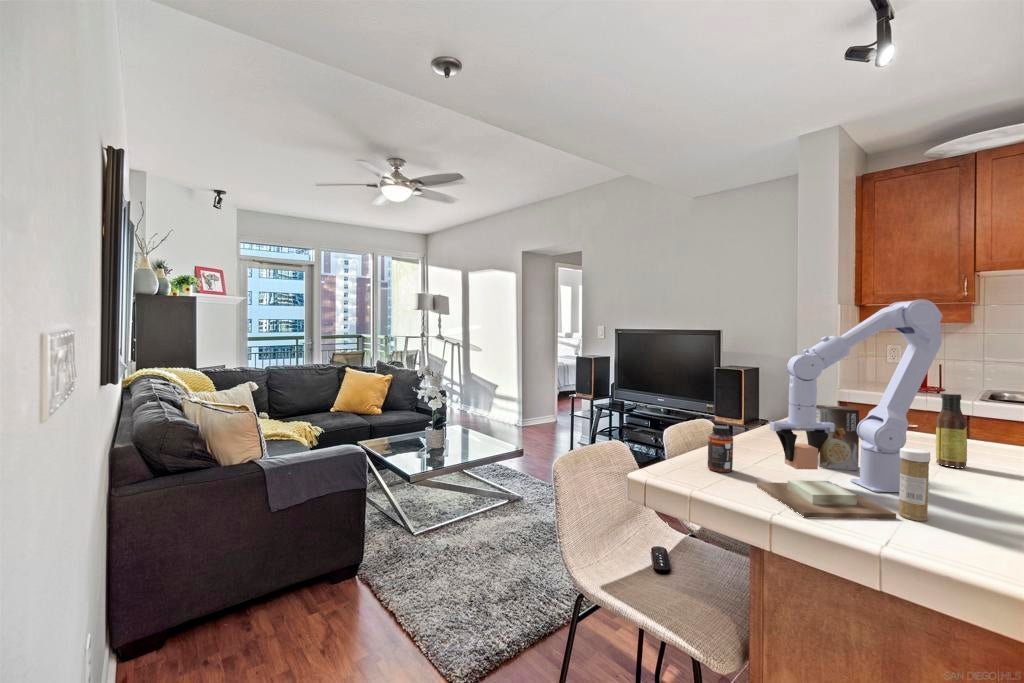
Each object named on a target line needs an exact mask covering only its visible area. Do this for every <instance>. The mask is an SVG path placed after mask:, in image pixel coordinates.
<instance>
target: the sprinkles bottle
mask: <svg viewBox="0 0 1024 683" xmlns="http://www.w3.org/2000/svg"><path fill="white" fill-rule="evenodd" d="M900 457H901V458H900V459H901V472H900V490H899V492H898V493H899V494H898V495H899V496H898V498H899V503H898V505H899V506H898V509H899V510H898V512H897V513H898V515H899V516H901V517H902V518H905V519H908V520H911V521H917V522H925V521H928V519H929V516H928V506H929V493H930V491H929V489H930V488H929V482H930V481H929V476H930V475H929V473H930V472H929V470H930V469H929V468H930V466H929V465H930V462H931V452H930V451H928V450H926V449H922V448H917V447H909V446H908V447H907V446H906V447H903V448H901V449H900Z"/></svg>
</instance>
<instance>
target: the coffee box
mask: <svg viewBox="0 0 1024 683" xmlns="http://www.w3.org/2000/svg"><path fill="white" fill-rule="evenodd" d="M816 422H830V423H833V424H834V432H830V431H825V432H826V433H828V434H829V435H828V438H827V440H826V441H825V442H824V444H823V446H822V447H821V449H820V452H819V455H818V466H819V467H818V468H820V467H825V468H824V469H832V468H835V469H834V470H845V469H847V470H849V471H859V462H860V461H859V460H860V458H859V457H860V456H859V454H860V452H859V450H860V449H859V447H860V444H859V443H860V437H859V436H858V434H857V426H858V424H859V422H860V409H857V408H855V407H851V406H843V405H826V404H825V405H823V404H816ZM847 470H846V471H847Z"/></svg>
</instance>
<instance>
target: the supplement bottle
mask: <svg viewBox="0 0 1024 683" xmlns="http://www.w3.org/2000/svg"><path fill="white" fill-rule="evenodd" d="M711 431H712V433H709V434H708V441H707V469H709V470H710V471H713V472H716V473H730V472H732V470H733V466H734V465H733V464H734V462H733V460H734V436H732V435H731V434H730V427H729V426H727V425H717V424H716V425H712V430H711Z"/></svg>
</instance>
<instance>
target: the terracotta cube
mask: <svg viewBox="0 0 1024 683" xmlns="http://www.w3.org/2000/svg"><path fill="white" fill-rule="evenodd" d="M784 465H787V466H790V467H791V468H793V469H795V470H818V468H819V467H818V448H815V447H813V446H810V445H808V443H804V442H803V443H796V442H795V446H794V459H793V461H788V460H786V458H785V457H784Z"/></svg>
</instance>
